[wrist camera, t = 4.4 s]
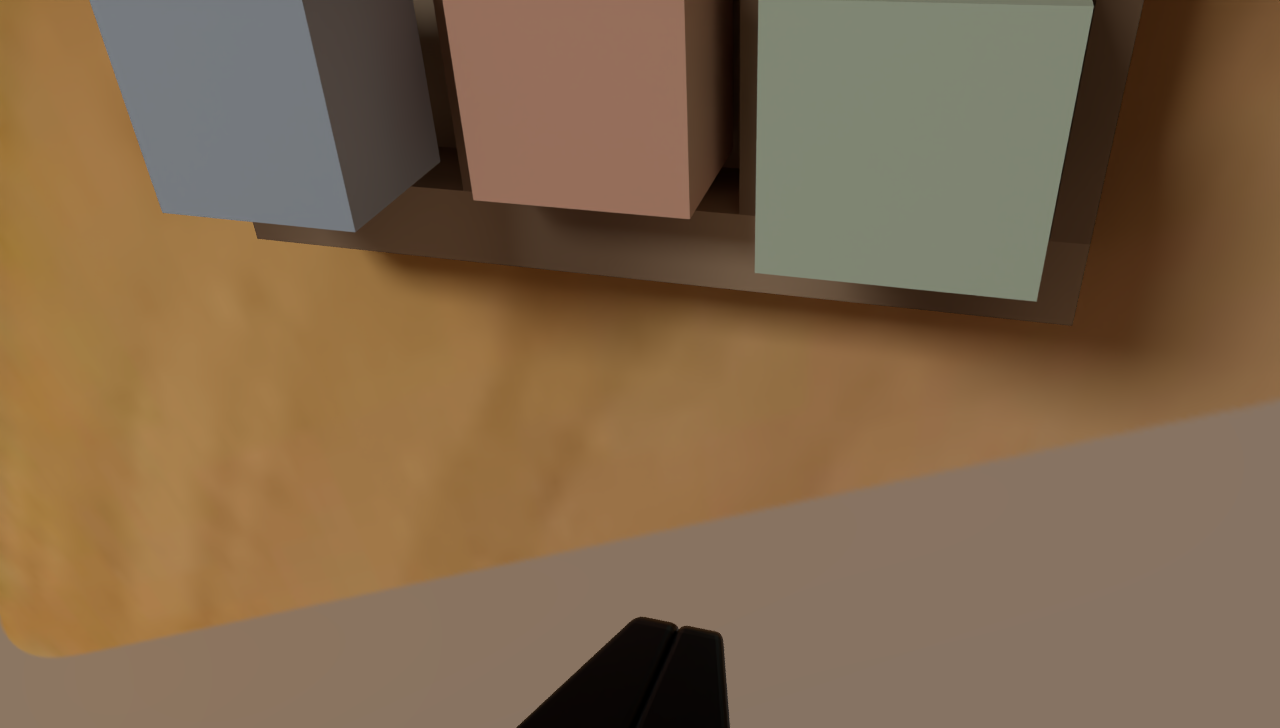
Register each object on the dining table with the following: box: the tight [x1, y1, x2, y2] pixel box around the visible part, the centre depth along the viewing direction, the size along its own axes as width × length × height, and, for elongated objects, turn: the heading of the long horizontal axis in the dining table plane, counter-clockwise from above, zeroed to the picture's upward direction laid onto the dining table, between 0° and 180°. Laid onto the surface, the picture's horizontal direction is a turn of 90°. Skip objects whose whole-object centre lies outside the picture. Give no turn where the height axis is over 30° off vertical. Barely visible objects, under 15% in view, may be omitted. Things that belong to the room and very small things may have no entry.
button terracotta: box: [443, 0, 733, 219], centre depth 17 cm, size 4×4×3 cm
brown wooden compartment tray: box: [253, 0, 1144, 326], centre depth 18 cm, size 16×8×2 cm, turn 93°
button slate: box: [90, 0, 440, 232], centre depth 17 cm, size 4×4×3 cm
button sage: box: [755, 0, 1094, 302], centre depth 14 cm, size 4×4×3 cm
